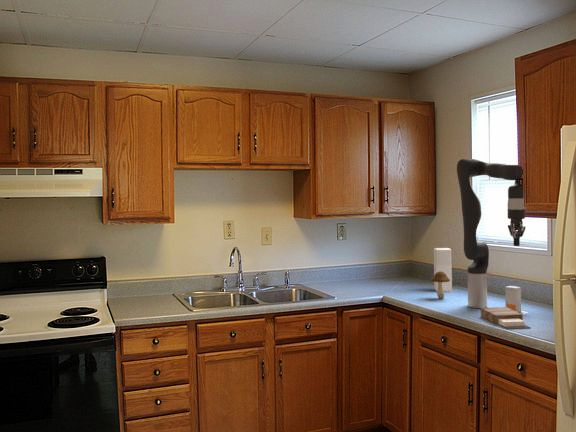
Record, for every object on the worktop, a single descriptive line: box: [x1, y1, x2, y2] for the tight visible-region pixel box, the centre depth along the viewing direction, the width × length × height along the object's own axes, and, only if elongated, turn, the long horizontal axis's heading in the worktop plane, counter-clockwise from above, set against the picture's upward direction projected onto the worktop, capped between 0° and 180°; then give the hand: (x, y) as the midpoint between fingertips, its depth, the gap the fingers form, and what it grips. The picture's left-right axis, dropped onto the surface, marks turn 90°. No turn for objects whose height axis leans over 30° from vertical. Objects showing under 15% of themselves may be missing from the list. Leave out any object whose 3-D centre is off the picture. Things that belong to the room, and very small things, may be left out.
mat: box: [498, 324, 531, 330], centre depth 238 cm, size 8×10×1 cm
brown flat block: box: [480, 306, 524, 325], centre depth 250 cm, size 16×12×4 cm
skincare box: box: [504, 285, 522, 313], centre depth 267 cm, size 6×4×12 cm
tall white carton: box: [433, 247, 453, 293], centre depth 328 cm, size 9×9×25 cm
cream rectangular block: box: [497, 318, 526, 328], centre depth 239 cm, size 6×9×2 cm, turn 92°
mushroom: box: [429, 272, 450, 300], centre depth 303 cm, size 9×11×15 cm
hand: (516, 245), depth 254 cm, fingers closed
